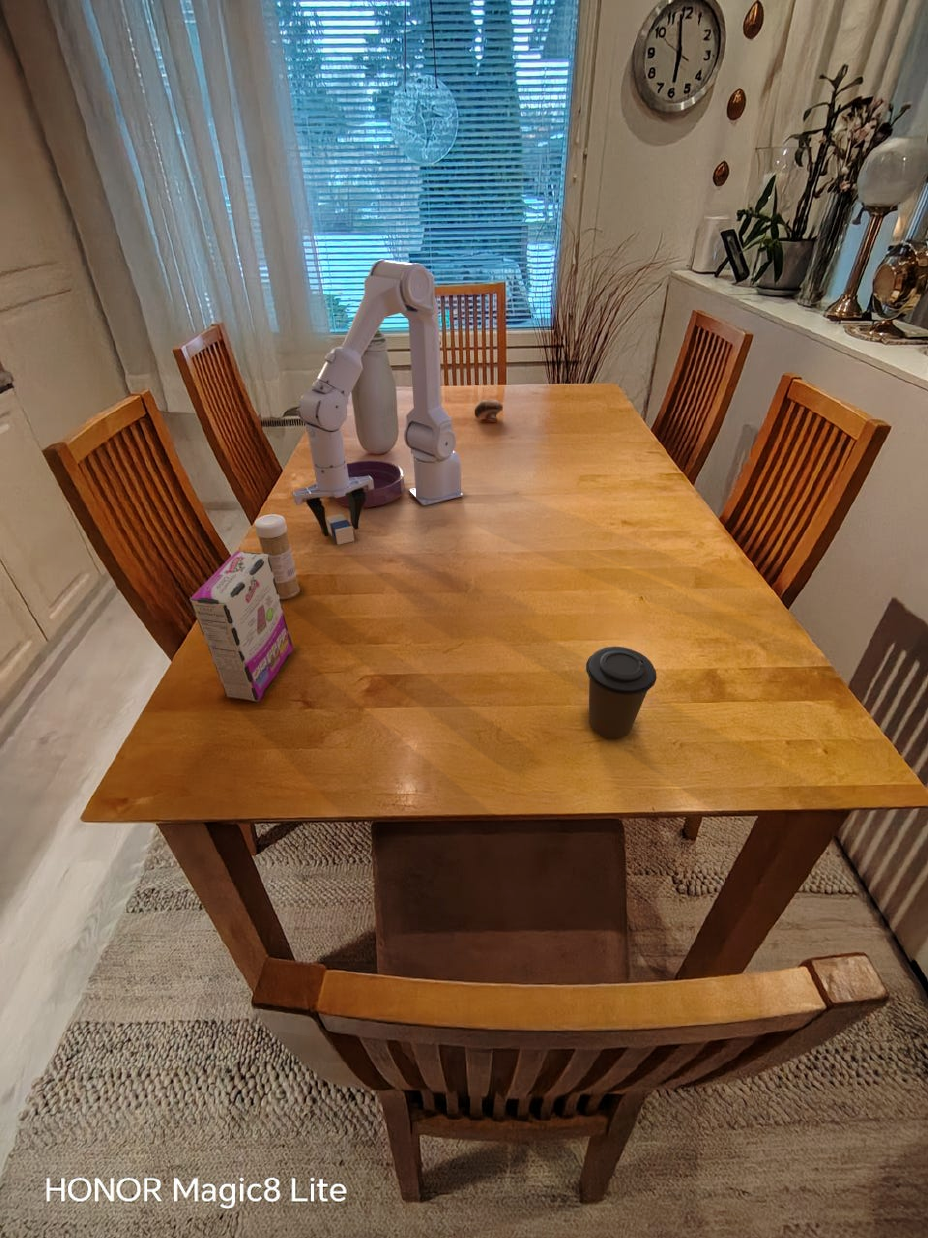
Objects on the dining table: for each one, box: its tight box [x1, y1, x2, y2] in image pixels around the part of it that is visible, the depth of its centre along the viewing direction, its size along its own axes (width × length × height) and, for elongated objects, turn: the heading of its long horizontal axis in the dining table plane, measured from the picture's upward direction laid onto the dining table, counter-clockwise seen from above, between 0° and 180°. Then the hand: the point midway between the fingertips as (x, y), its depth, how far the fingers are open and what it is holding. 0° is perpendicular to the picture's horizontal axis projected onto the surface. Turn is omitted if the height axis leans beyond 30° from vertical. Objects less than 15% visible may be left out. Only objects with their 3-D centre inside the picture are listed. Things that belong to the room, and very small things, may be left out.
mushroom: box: [474, 398, 504, 423], centre depth 163 cm, size 8×8×6 cm
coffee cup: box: [585, 646, 658, 740], centre depth 71 cm, size 8×8×10 cm
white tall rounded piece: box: [350, 328, 400, 455], centre depth 138 cm, size 10×10×28 cm
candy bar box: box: [189, 550, 294, 703], centre depth 77 cm, size 11×5×16 cm, turn 168°
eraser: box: [325, 513, 355, 546], centre depth 112 cm, size 6×3×3 cm, turn 27°
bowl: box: [329, 460, 405, 508], centre depth 127 cm, size 16×16×4 cm
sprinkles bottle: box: [254, 513, 300, 600], centre depth 93 cm, size 5×5×14 cm
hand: (340, 530), depth 112 cm, fingers open, 5 cm apart
